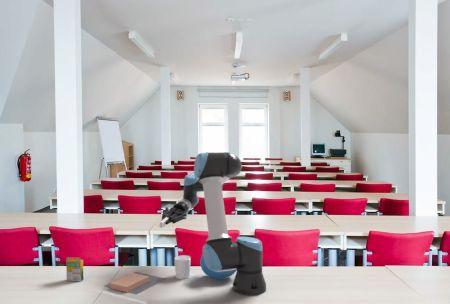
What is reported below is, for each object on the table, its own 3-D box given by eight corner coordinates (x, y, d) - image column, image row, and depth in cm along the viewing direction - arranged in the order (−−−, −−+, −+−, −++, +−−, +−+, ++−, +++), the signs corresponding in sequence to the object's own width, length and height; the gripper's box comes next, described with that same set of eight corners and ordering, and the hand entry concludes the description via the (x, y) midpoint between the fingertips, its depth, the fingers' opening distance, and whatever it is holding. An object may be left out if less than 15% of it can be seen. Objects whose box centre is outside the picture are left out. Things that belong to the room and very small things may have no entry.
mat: (167, 279, 193) (167, 278, 193) (136, 295, 174) (136, 294, 174) (135, 272, 203) (135, 271, 203) (103, 287, 183) (103, 286, 183)
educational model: (238, 283, 187) (238, 252, 187) (199, 283, 188) (198, 252, 187) (238, 272, 203) (238, 243, 202) (201, 272, 203) (201, 243, 203)
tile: (149, 276, 189) (126, 287, 176) (149, 281, 189) (126, 292, 176) (133, 273, 194) (110, 282, 181) (133, 278, 194) (110, 288, 181)
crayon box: (83, 279, 194) (83, 255, 194) (80, 281, 191) (80, 257, 191) (69, 278, 195) (69, 255, 194) (66, 281, 192) (66, 257, 191)
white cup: (183, 281, 190) (183, 261, 190) (171, 278, 195) (171, 258, 194) (194, 277, 196) (194, 257, 196) (182, 273, 201) (182, 254, 201)
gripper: (191, 217, 217) (171, 235, 195) (170, 210, 220) (148, 227, 199) (193, 205, 214) (173, 222, 193) (172, 198, 218) (150, 214, 196)
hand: (161, 224), depth 196 cm, fingers closed
